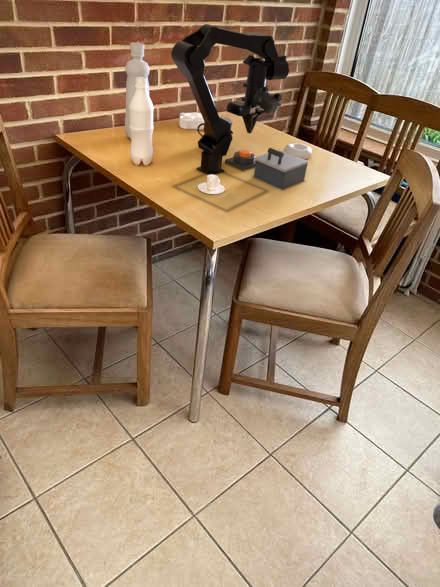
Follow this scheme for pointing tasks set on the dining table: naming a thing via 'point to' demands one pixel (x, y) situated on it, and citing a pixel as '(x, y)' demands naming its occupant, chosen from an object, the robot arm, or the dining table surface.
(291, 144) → the donut
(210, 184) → the teacup and saucer
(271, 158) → the grey box lid
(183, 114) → the white egg tray
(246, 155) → the button
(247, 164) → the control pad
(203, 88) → the robot arm
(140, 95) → the water bottle
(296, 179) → the dark grey case
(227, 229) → the dining table surface
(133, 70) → the bottle
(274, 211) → the dining table surface
